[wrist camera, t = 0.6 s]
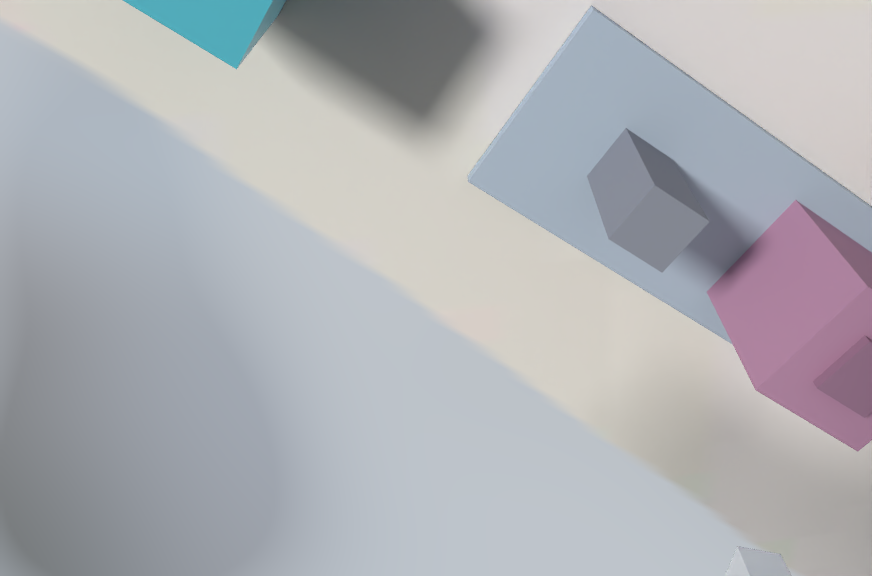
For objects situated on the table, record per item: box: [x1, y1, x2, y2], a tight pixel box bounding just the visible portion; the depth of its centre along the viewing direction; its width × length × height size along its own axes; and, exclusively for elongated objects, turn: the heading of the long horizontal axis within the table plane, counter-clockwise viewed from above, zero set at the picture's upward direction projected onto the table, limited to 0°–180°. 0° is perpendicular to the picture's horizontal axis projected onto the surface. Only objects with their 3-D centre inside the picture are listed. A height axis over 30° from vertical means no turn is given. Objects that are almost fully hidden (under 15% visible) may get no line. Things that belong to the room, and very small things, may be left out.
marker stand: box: [468, 6, 872, 451], centre depth 31 cm, size 8×18×8 cm, turn 57°
